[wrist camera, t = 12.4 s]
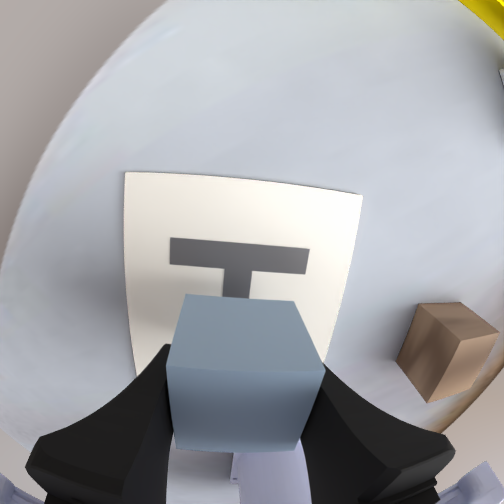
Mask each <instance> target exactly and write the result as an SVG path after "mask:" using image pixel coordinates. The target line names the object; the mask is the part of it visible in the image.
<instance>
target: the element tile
mask: <svg viewBox="0 0 504 504" xmlns="http://www.w3.org/2000/svg"><path fill="white" fill-rule="evenodd" d="M458 1H460V2H461V3H462V4H464V5H465V6H466V7H467V8H469V9H470V10H471V11H472V12H473V13H475V14H476V15H477V16H478V17H479V18H480V19H482V20H483V21H484V22H485V23H486V24H487V25H488V26H489V27H490V28H491V29H493V30H494V31H495V32H496V33H497V34H498V35H499V36H500V37H501V38H502V39H503V40H504V0H458Z"/></svg>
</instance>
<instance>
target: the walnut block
mask: <svg viewBox="0 0 504 504" xmlns="http://www.w3.org/2000/svg"><path fill="white" fill-rule="evenodd" d="M499 333H500V332H499V331H498V330H496V329H495V328H494V327H493V326H491V325H490V324H489V323H487V322H486V321H485V320H484V319H482V318H481V317H480V316H478V315H477V314H476V313H474V312H473V311H472V310H470V309H469V308H468V307H466V306H465V305H464V304H462V303H461V302H457V303H420V304H418V306H417V309H416V312H415V315H414V318H413V320H412V323H411V326H410V328H409V331H408V333H407V336H406V338H405V341H404V343H403V346H402V348H401V350H400V353H399V355H398V357H397V359H396V363H397V364H398V365H399V367H400V368H401V369H402V370H403V372H404V373H405V374H406V376H407V377H408V378H409V380H410V381H411V382H412V384H413V385H414V387H415V388H416V389H417V391H418V392H419V393H420V395H421V396H422V397H423V399H424V400H425V402H426V403H430V402H433V401H436V400H439V399H442V398H445V397H448V396H451V395H454V394H457V393H460V392H462V391H465V390H468V389H470V388H471V386H472V384H473V383H474V381H475V379H476V378H477V376H478V374H479V372H480V371H481V369H482V367H483V365H484V363H485V362H486V360H487V358H488V356H489V354H490V352H491V350H492V348H493V346H494V344H495V342H496V340H497V338H498V335H499Z"/></svg>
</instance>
